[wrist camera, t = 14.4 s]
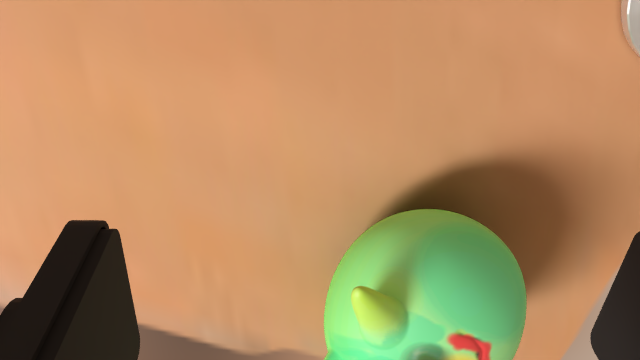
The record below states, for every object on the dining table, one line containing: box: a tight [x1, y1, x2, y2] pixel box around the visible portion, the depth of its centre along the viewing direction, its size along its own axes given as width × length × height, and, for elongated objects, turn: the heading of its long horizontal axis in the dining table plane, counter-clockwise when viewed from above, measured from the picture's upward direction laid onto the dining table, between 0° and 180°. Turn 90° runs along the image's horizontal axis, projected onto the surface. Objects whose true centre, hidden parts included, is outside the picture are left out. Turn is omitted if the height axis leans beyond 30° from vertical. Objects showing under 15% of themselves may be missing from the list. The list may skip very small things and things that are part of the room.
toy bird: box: [324, 209, 526, 360], centre depth 43 cm, size 18×17×15 cm
